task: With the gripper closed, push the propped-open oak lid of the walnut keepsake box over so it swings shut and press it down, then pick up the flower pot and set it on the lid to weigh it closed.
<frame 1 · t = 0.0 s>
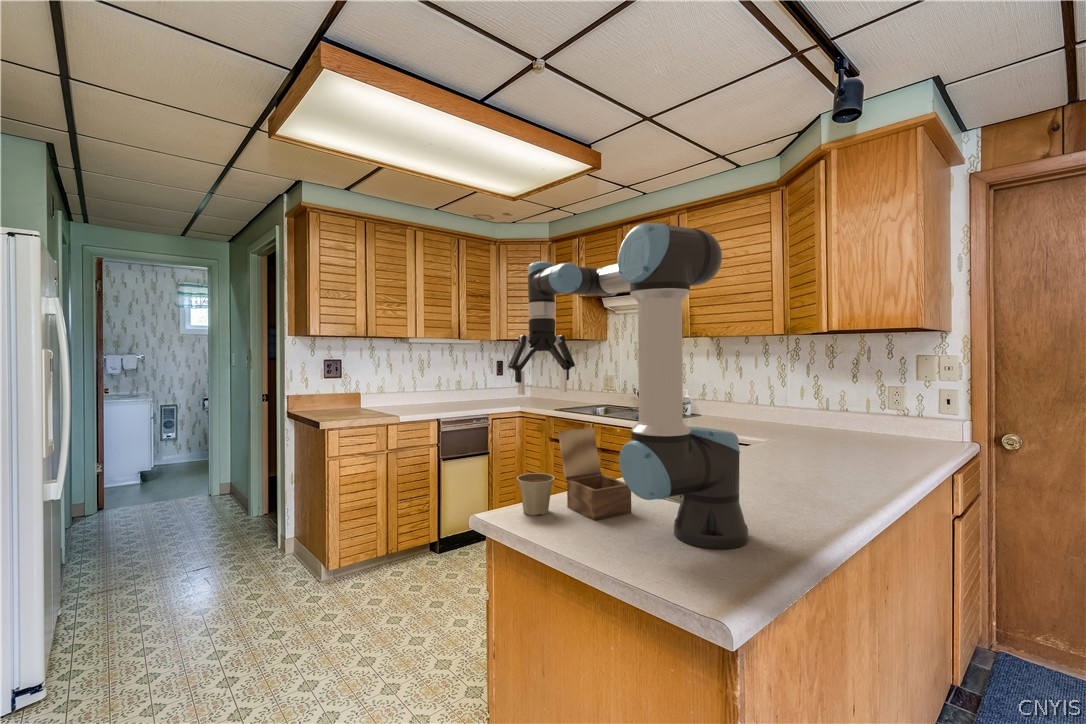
hand: (542, 393, 146), 28 cm above the countertop, fingers open, 13 cm apart
lid: (580, 453, 136), point 13 cm above the countertop, hinge at 105.0°
flower pot: (536, 512, 128), on the countertop
box: (598, 510, 129), on the countertop
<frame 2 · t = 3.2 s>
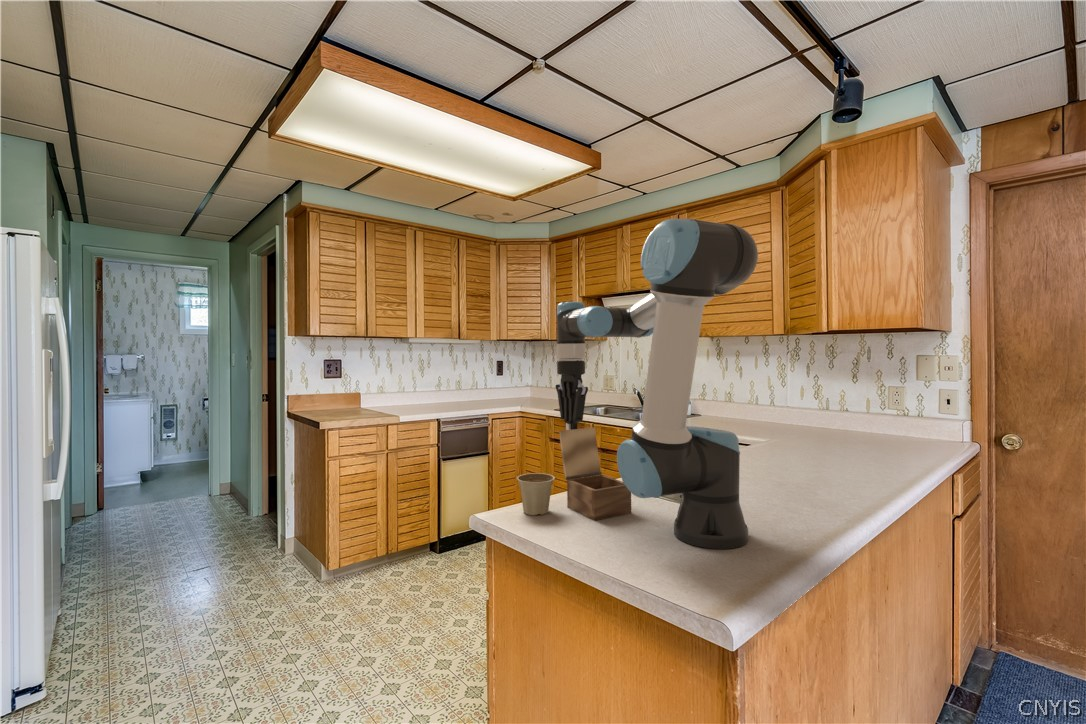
hand: (571, 446, 139), 14 cm above the countertop, fingers closed
lid: (580, 453, 135), point 13 cm above the countertop, hinge at 102.5°, touching gripper
everything else where it was.
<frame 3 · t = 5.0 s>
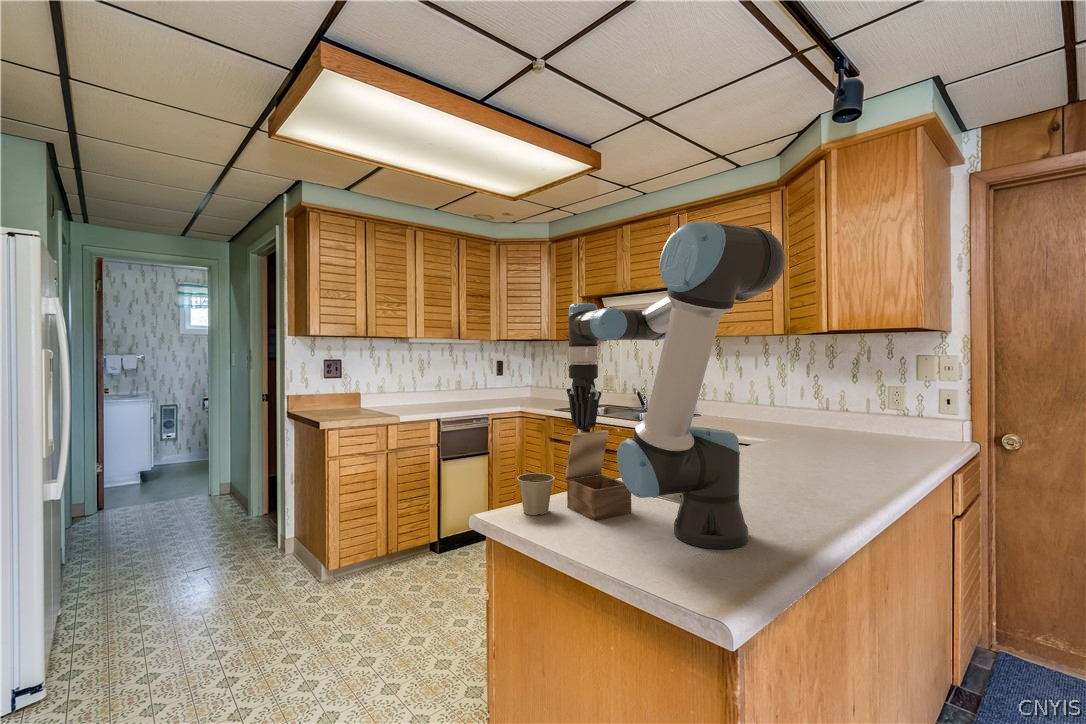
hand: (583, 453, 134), 13 cm above the countertop, fingers closed
lid: (587, 455, 133), point 13 cm above the countertop, hinge at 72.6°, touching gripper
everything else where it was.
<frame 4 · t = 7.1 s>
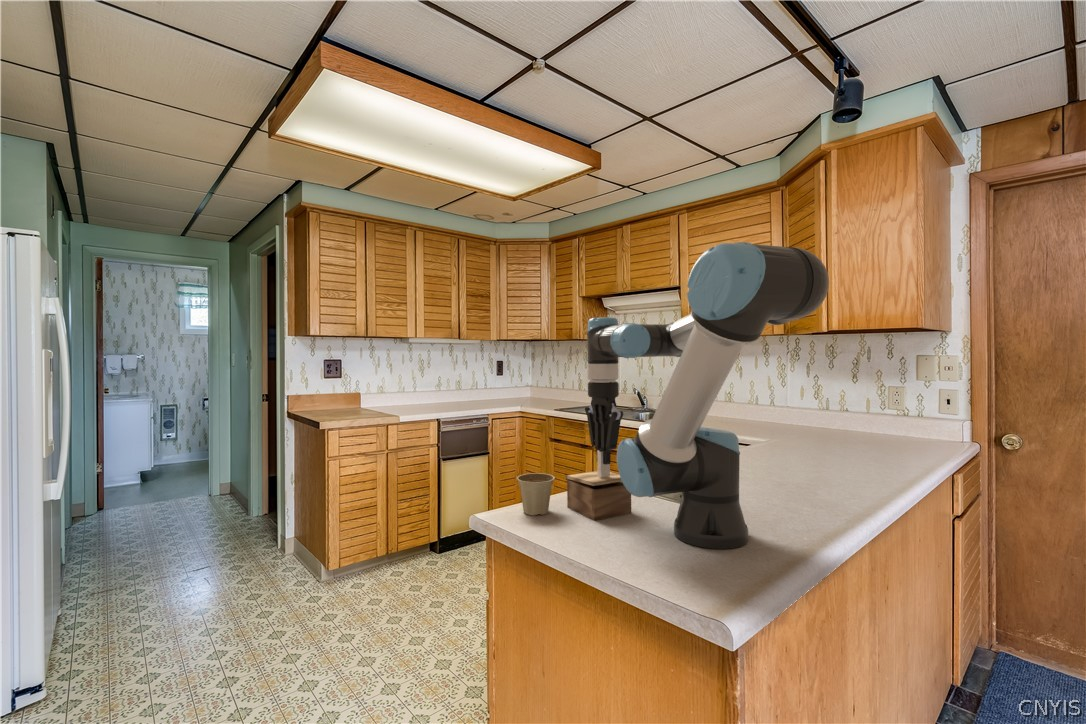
hand: (603, 476, 127), 9 cm above the countertop, fingers closed
lid: (596, 478, 129), point 8 cm above the countertop, hinge at 3.9°, touching gripper
everything else where it was.
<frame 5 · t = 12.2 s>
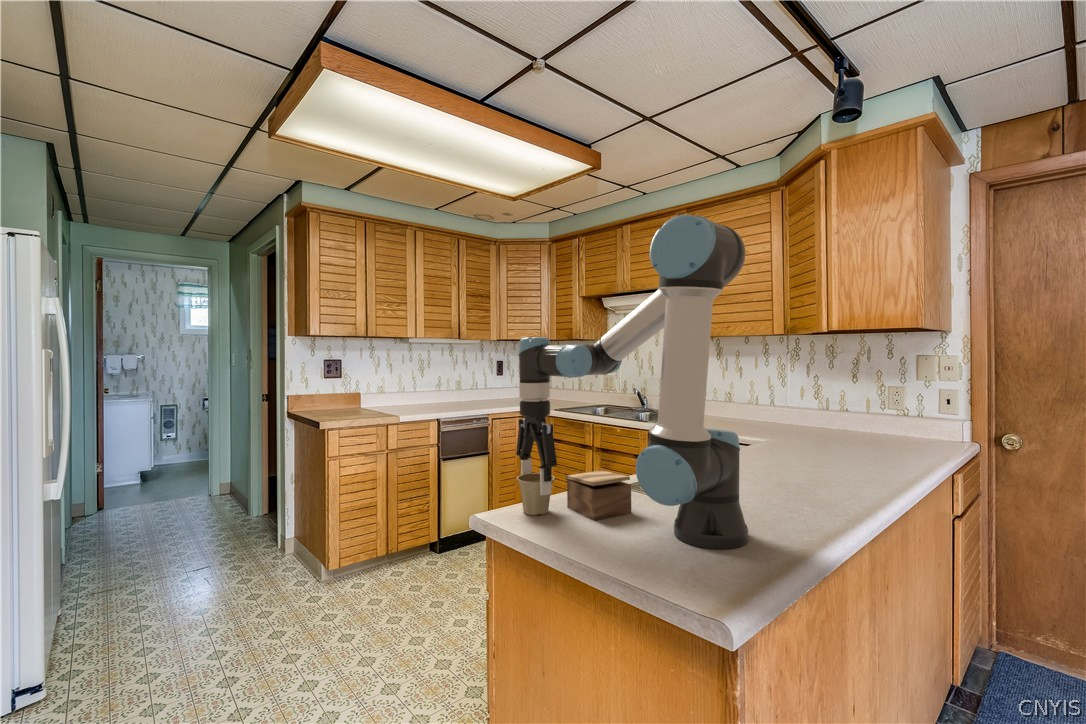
hand: (535, 489, 128), 6 cm above the countertop, fingers closed on flower pot, 9 cm apart
lid: (597, 478, 129), point 8 cm above the countertop, hinge at 3.9°
flower pot: (536, 512, 128), on the countertop, touching gripper
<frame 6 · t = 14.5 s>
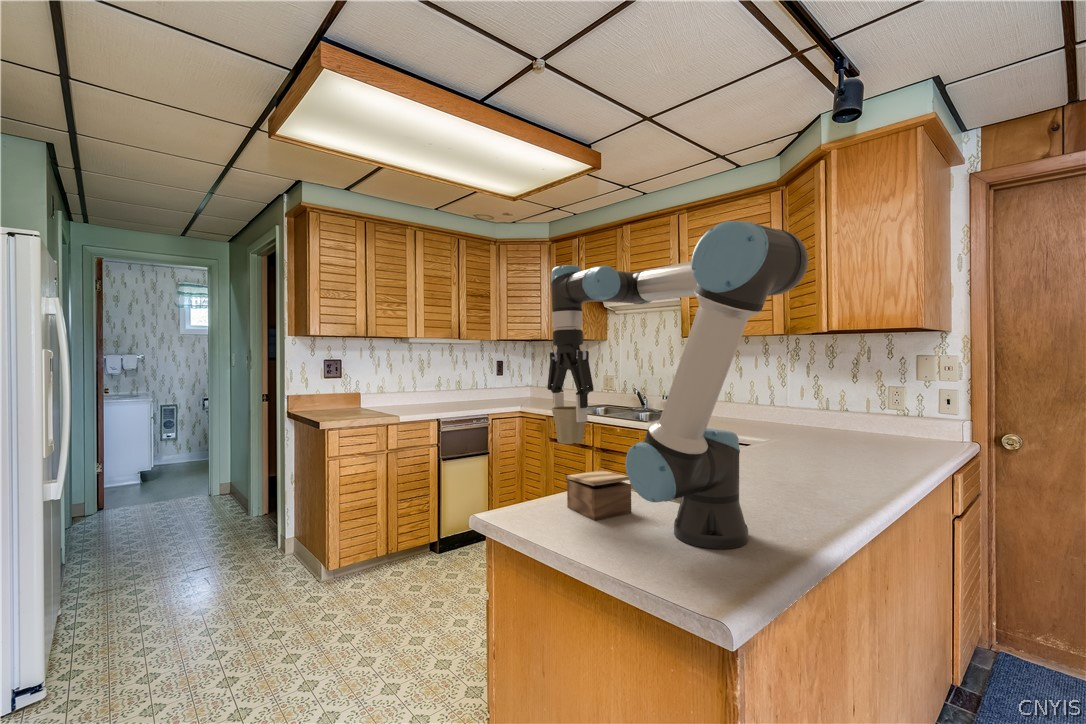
hand: (570, 419, 127), 23 cm above the countertop, fingers closed on flower pot, 9 cm apart
flower pot: (570, 443, 127), point 17 cm above the countertop, touching gripper
everything else where it was.
when the fingers open (14 cm above the countertop, at t = 17.1 s): flower pot stays where it is, resting on lid.
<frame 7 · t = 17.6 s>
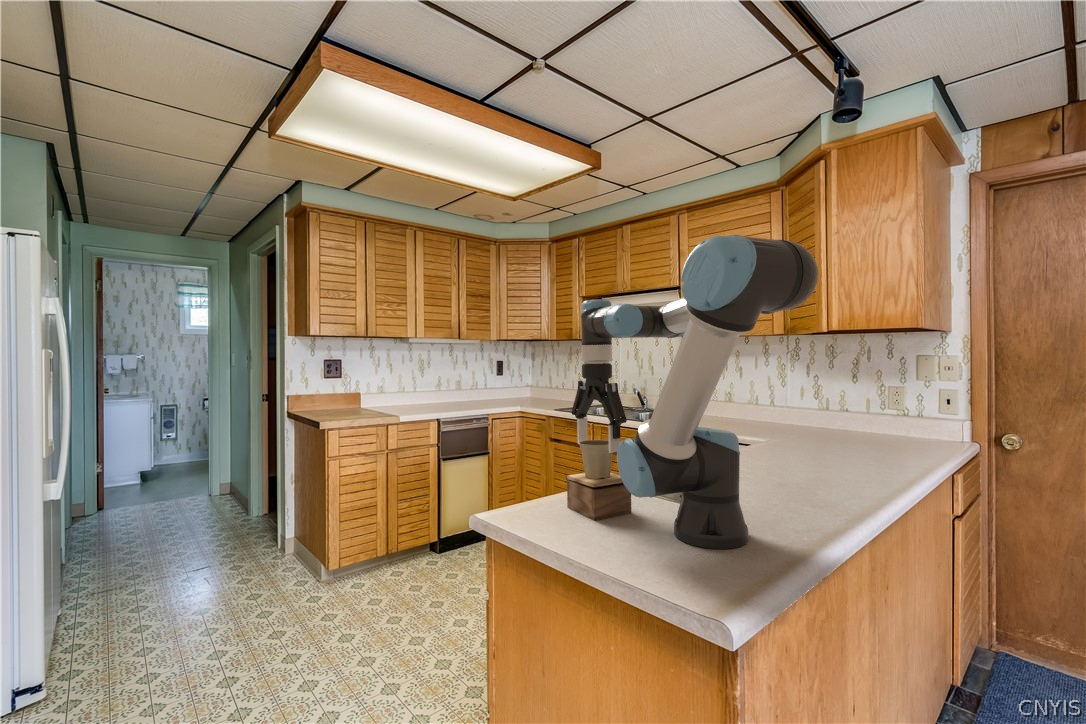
hand: (597, 447, 129), 16 cm above the countertop, fingers open, 13 cm apart
lid: (597, 478, 129), point 8 cm above the countertop, hinge at 2.4°, touching flower pot
flower pot: (598, 477, 129), point 8 cm above the countertop, touching lid
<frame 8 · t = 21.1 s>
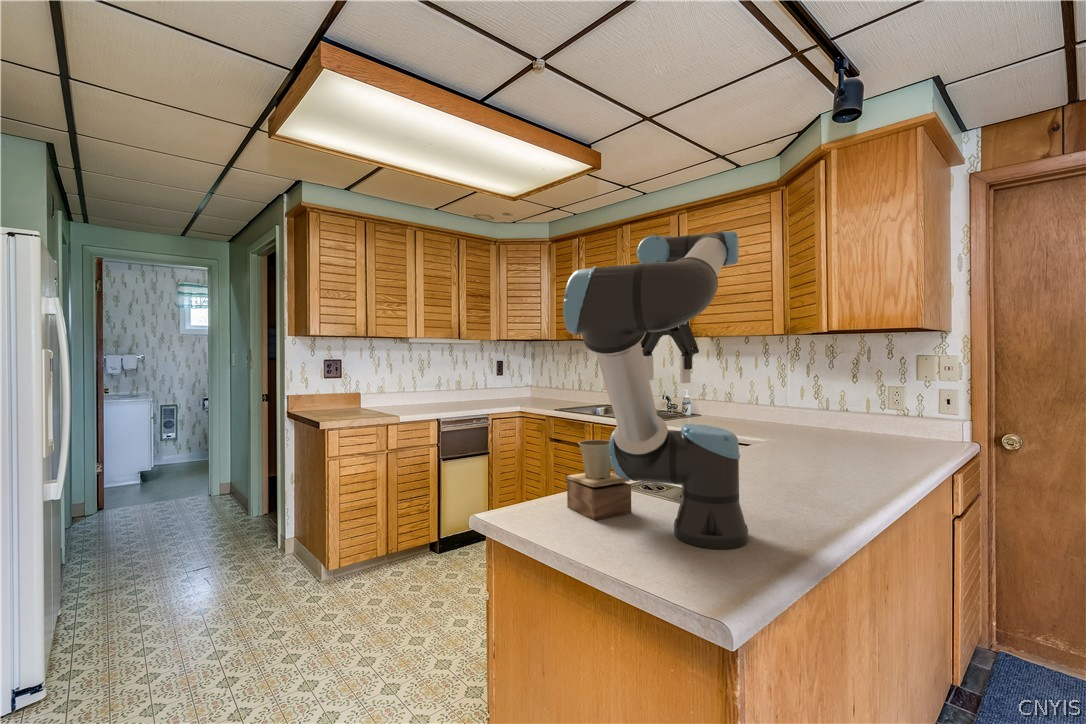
hand: (666, 381, 132), 32 cm above the countertop, fingers open, 13 cm apart
nothing on the countertop moved.
at the end: lid at +2° (first picture: +105°); flower pot inside the target area on the box (0.1 cm from its centre), point 8.2 cm above the box's base; flower pot tilted 2° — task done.
